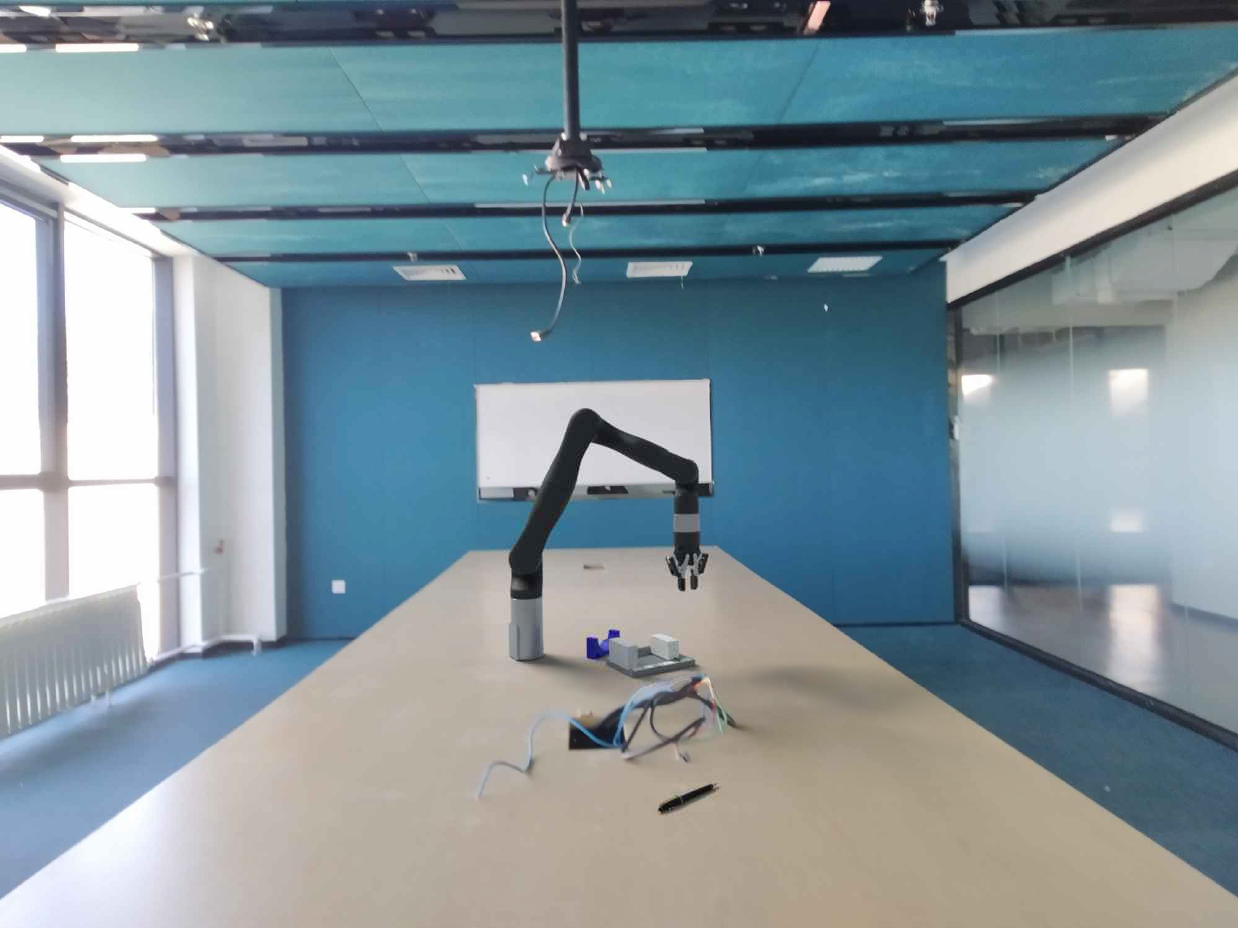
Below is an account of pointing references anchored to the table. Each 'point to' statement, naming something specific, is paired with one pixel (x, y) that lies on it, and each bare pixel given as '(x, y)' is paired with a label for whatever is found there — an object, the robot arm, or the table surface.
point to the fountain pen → (684, 797)
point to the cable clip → (603, 649)
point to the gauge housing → (640, 659)
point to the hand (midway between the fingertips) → (687, 589)
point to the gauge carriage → (664, 647)
